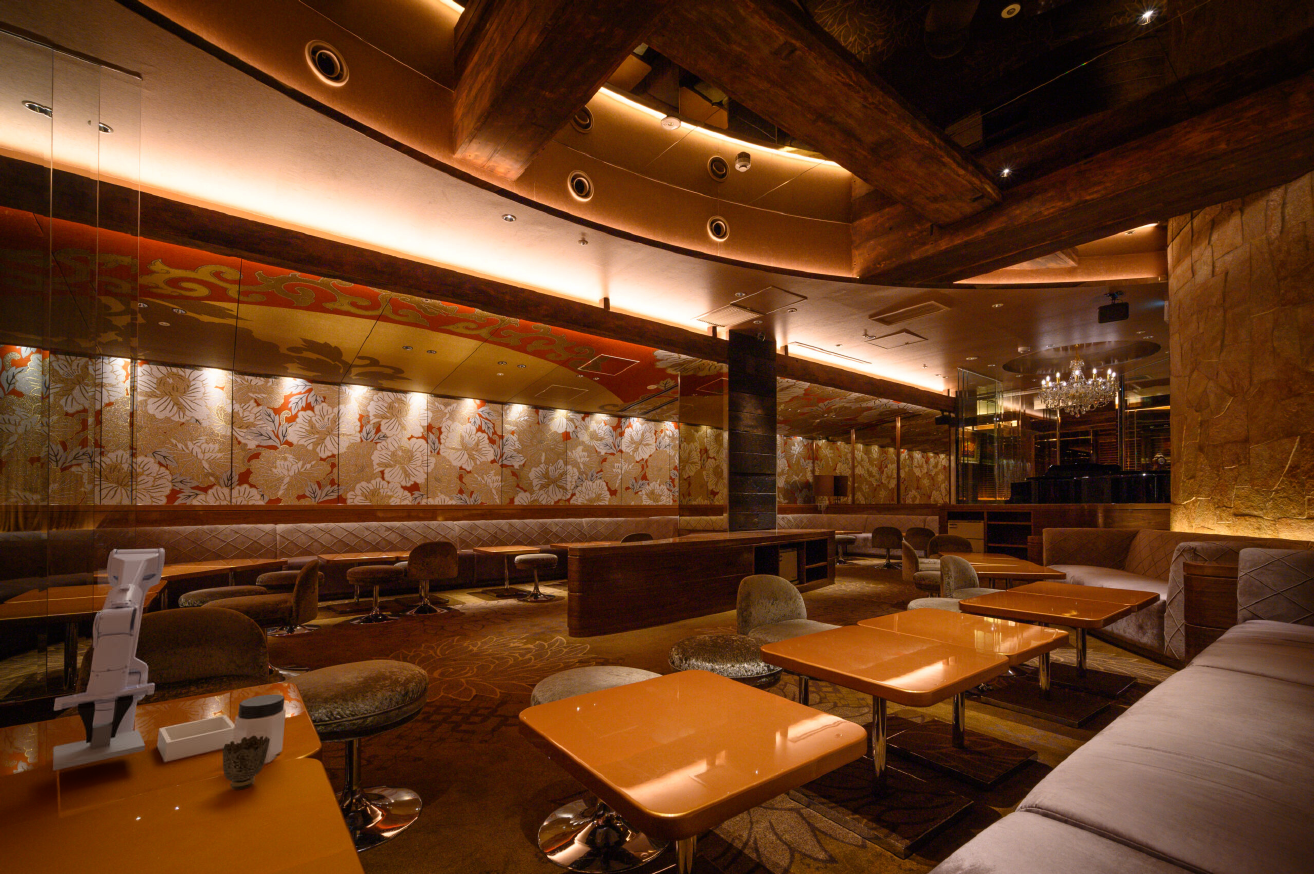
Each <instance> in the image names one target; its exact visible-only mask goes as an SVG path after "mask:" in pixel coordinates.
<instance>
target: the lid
mask: <svg viewBox="0 0 1314 874" xmlns="http://www.w3.org/2000/svg"><path fill="white" fill-rule="evenodd" d="M112 725H113V724H112V721H111V722H106V723H100V724H95V725H93V727H92V740H91V742H90V743H86V739H85V740H80V741H75V742H70V743H65V744H60V745H56V746H53V748H52V749H53V750H52V762H53V763H52V764H53V765H52V769H53V771H58V770H61V769H66V768H67V769H68V768H71V767H75V766H76V767H77V766H80V765H85V764H89V763H93V762H98V761H102V760H107V759H111V758H117V757H120V756H121V757H122V756H125V755H129V754H134V753H138V752H139V753H140V752H143V751H145V749H146V744H145V742H144V739H143V737H142V734H141V732H140V730H139V729H136V730H133V731H130V732H125V733H120V734H116V736H115V738H111V732H112Z"/></svg>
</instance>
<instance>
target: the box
mask: <svg viewBox="0 0 1314 874" xmlns="http://www.w3.org/2000/svg"><path fill="white" fill-rule="evenodd" d="M234 726H235V723H234V722H233V721H232V720H231V719H230V718H229V716H227V715H226V714H223V715H219V716H214V717H209V718H205V719H204V718H203V719H198V720H195V721H189V722H183V723H178V724H174V725H169V726H165V727H159V728H158V729H159V730H158V736H157V745H156V747H157V750H158V751H159V753H160V755H161V758H162V760H163V763H166V762H170V761H171V762H172V761H174V760H179V759H184V758H188V757H193V756H195V755H196V756H197V755H200V754H204V753H210V752H213V751H218V750H223V749H222V748H224V745H225V744H230V742H231V741H233V736H234Z"/></svg>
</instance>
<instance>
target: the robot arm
mask: <svg viewBox="0 0 1314 874" xmlns="http://www.w3.org/2000/svg"><path fill="white" fill-rule="evenodd" d="M165 559H166V551H165V548H163V547H159V548H144V549H143V548H139V549H137V548H136V549H135V548H134V549H117V548H113V550H112V551H110V553H109V555H108V560H107V564H106V565H107V567H106V573H107V581H108V583H109V587H111V589H110V590H109V591H108V593H107V595H106V598H105V601H104V604H103V606H102V610H101V612H97V613H96V614H95V617H94V621H93V627H92V637H93V643H92V649H93V652H92V653H93V654H92V660H91V668H90V675H89V680H88V684H87V686H86V687H87V688H86V691H85V692H80V693H76V694H72V695H67V696H66V695H65V696H61V697H56V698H55V699H54V707H53V711H61V710H63V709H67V708H74V707H76V708H77V709H76V710H77V713H78V714H79V717H80V719H81V721H82V723H83V726H84V727H83V728H84V729H85V740H86V743H90V742H91V740H92V727H93V725H95V724H100V723H106V722H111V721H112V724H113V725H112V732H111V738H115V736H116V734H120V733H125V732H130V731H134V725H135V719H136V710H137V703H138V701H141V700H143V698H144V697H145V696H146V695H147V696H149V695H150V696H151V695H154V693H155V686H156V684H155V683H154V682H149V683H148V681H149V665H148V664H147V663H146V662H144V661H143V660H141V659H140V658H137V657H136V654H137V647H138V643H139V642H138V641H139V634H140V628H141V624H142V623H141V622H142V616H143V609H144V605H145V604H144V603H145V600H146V597H147V594H148V591H149V590H150V588H152V587H154V586H156V585H158V584H160V580H161V579H162V574H163V569H164V564H165Z"/></svg>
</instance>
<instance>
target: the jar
mask: <svg viewBox="0 0 1314 874" xmlns="http://www.w3.org/2000/svg"><path fill="white" fill-rule="evenodd" d="M284 706H285V696H284V695H281V694H264V695H258V696H254V697H250V698H247V699H244V700H242V701H241V702H240V703H239V705H238V714H237V715H236V716H235V718H234V719H235V720H234V725H235V726H234V736H233V741H234V743H235V744H236V743H241V739H242V738H243V737H246V738H247V739H249V738H250V737H252V736H254V735H255V736H256V737H257V738H258V739H259V738H260V737H261V736H263V740H264V738H265V737H266V736H267V737H268V738H269V739H270V742H269V746H268V751H267V755H266V759H265V763H264V765H265V764H269V763H271V762H272V761H273V760H275V759H276V758H278V757H279V756H280V754H279V753H281V752H282V751H283V743H284V732H285V721H286V713H287V712H286V710H287V709H286V708H285V707H284ZM277 756H278V757H277Z"/></svg>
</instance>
